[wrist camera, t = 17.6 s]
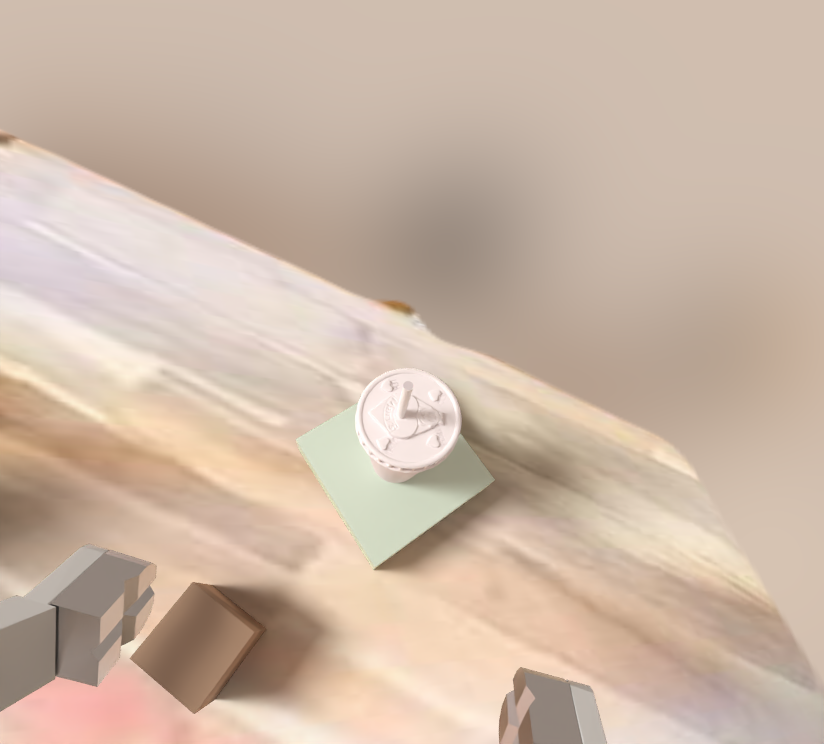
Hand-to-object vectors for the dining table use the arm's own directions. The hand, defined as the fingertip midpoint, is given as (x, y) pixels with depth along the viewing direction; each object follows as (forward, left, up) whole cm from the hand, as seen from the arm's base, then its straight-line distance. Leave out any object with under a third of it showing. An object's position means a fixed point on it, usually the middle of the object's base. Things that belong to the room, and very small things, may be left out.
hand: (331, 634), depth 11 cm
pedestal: (+7, -9, -28) cm, 30 cm away
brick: (+4, +8, -28) cm, 29 cm away
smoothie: (+7, -9, -25) cm, 27 cm away
